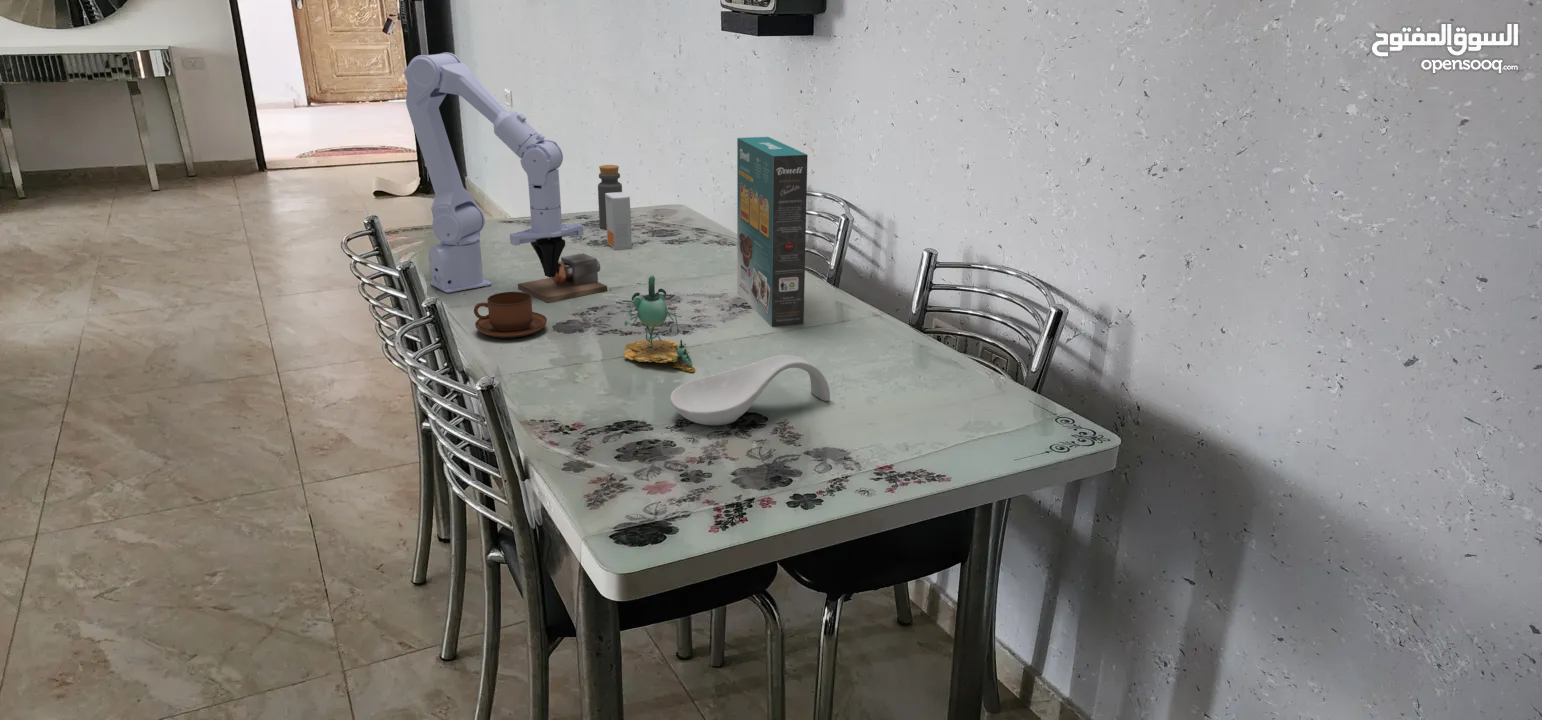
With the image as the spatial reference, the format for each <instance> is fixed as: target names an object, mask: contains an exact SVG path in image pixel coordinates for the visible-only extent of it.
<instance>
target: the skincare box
mask: <svg viewBox="0 0 1542 720" xmlns="http://www.w3.org/2000/svg"><path fill="white" fill-rule="evenodd" d="M630 198H631V197H630V196H629V195H628V194H626V193H624V192H623V191H622V192H615V193H605V202H606V223H607V229H606V238H607V239H606V240H607V245H608V246H610V247H611V248H612V249H613V250H615V251H618V250H619V251H620V250H629V249H632V248H633V247H632V246H633V245H632V244H633V242H632V241H633V240H632V223H631V222H632V221H631V220H632V219H631V199H630Z"/></svg>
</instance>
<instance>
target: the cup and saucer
mask: <svg viewBox="0 0 1542 720" xmlns="http://www.w3.org/2000/svg"><path fill="white" fill-rule="evenodd" d="M532 300H533V299H532V295H530V294H528V293H526V292H524V291H523V292H521V291H506V292H498V293H495V294H491V295H489V296H488V297H487V300H486V302H478V303H477V304H475V305H474V307H473V314H474V317H476V318H478V319H477V320H476V321H475V322H474V323H475V328H476V330H477V331H479V332H480V333H481V334H483V335H486V336H488V337H494V338H503V339H505V338H506V339H511V338H518V337H519V338H520V337H526V336H528V335H529V336H530V335H532V334H535V333H538V332H540V331H541V330H543V328H544V327H545V326H546V325H547V321H548V319H547V317H546V316H545V314H541V313H538V312H534V311H533V305H532V304H533V301H532ZM481 307H485V308H487V310H488V311H487V312H488V314H486V315H481V314H480V313H479V308H481Z"/></svg>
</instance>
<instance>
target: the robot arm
mask: <svg viewBox="0 0 1542 720" xmlns="http://www.w3.org/2000/svg"><path fill="white" fill-rule="evenodd" d="M403 73H404V76H405V80H406V84H407V85H406V86H407V87H406V94H405V95H406V99H405V104H406V108H407V111H408V115H409V117H410V122H411V124H412V126H413V130H414V132H415V135H416V139H417V142H418V145H419V149H420V152H421V154H422V155H421V156H422V157H423V161H424V164H425V167H426V170H427V173H428V176H429V178H430V182H431V185H432V189H433V191H434V194H435V196H434V199H433V202H432V204H431V207H430V210H431V213H432V223H431V224H432V231H433V233H434V235H435V236H436V238H437V239H438V240H439V241H440V242H439V243H438V244H434V245H431V246H430V247H429V251H428V257H429V267H430V275H431V282H430V284H431V285H432V286H433V287H435V288H437V289H438V290H441V291H443V292H445V294H446V293H447V294H448V293H453V292H459V291H460V292H461V291H465V290H470V289H471V290H472V289H476V288H480V287H481V288H482V287H486V286H487V287H488V286H491V285H492V282H491V280H487V279H485V278H484V271H483V260H482V251H481V249H482V248H481V241H480V239H481V233H480V232H481V231H482V230H483V229H484V228H485V227H484V226H485V223H486V222H485V221H486V220H485V215H484V212H483V211H482V209H481V208H480V207H479V206H478V204H477V202H476V201H475V197H474V195H473V194H472V193H470V192H469V191H468V190H467V189H466V188H465V187H464V183H463V181H462V177H461V175H460V171H459V168H458V165H457V162H456V160H455V155H454V152H453V150H452V146H451V143H450V140H449V137H448V134H447V132H446V131H447V130H446V127H445V124H444V121H443V119H442V114H441V111H440V106H441V104H442V103H443V101H444V99H445V98H446V97H447V94H448V95H449V94H451V95H457V96H460V97H461V98H463V100H465V101H466V102H467V103H468V104H470V106H472V107H473V108H474V109H475V110H477V111H478V112H479V113H480V114H482V116H483V117H485V119H487V120H488V121H489V122H490V123H492V125H493V133H494V134H495V136H497V138H498V139H500V140H501V141H502V143H504V144H505V145H506V146H507V148H509V150H511V151H512V153H514V154H515V155H516V156H517V157H518V158H519V159H520V162H519V163H520V165H521V167H522V169H523V171H524V172H525V173H526V175H527V183H528V196H529V209H530V224H531V226H530V227H531V228H529V229H526V230H522V231H518V232H514V233H509V240H510V241H509V242H510V244H511V245H513V246H515V247H516V246H520V245H522V244H523V245H524V244H529V243H530V244H531V247H532V248H533V250H534V252H535V253H536V255H537V257H538V259H539V261H540V264H541V267H542V270H543V273H544V276H545V277H547V278H551V277H555V276H556V270H557V265H558V262H559V261H560V259H561V256H562V253H563V250H564V248H565V247H566V240H565V239H563V238H566V237H567V238H568V237H573V236H584V225H583V224H580V223H571V224H570V223H569V224H563V223H562V222H563V220H562V219H563V217H562V202H561V190H560V189H561V187H560V174H559V168H560V167H561V165H562V164H563V161H564V155H563V152H562V149H561V147H560V146H559V144H557V142H556V141H554V140H553V139H545V135H544V134H542V133H539V132H538V131H536V129H534V127H532V126H531V125H530V123H528V122H527V117H526V116H525V115H524V114H523V113H520V114H519V113H518V112H517V111H507V110H506V109H505V108H504V107H503V105H501V103H500V102H498V101H497V99H496V98H495V97H494V96H493V95H492V94H491V93H490V92H489V91H488V89H487V88H485V86H484V85H483V84H482V83H481V82H480V81H479V80H478V79H477V78H476V77H475V75H473V73H472V70H471V69H470V67H469V66H468V65H467V64H465V63H464V62H462V61H461V59H460V58H459V56H457V55H455V54H454V53H452V52H447V51H446V52H445V51H444V52H441V53H436V54H426V55H425V54H420V55H417V56H415V57H413V58H412V59H411V60H410V61H409V63H408V65H407V67H406V68H405V70H404V71H403Z"/></svg>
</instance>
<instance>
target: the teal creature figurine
mask: <svg viewBox="0 0 1542 720" xmlns="http://www.w3.org/2000/svg"><path fill="white" fill-rule="evenodd" d="M655 281H656V277H655V276H654V275H650V276H649V277H648V294H645V295H644V296H643V298H642V299H641V297H640V294H641V293H640V292H635V293H633V295H632V296H631V301H632V306H633V307H634V308H635V310H636V311H637V314H636V315H635V316H633V317H632V308H630V309H628V313H629V316H630V318H629V320H630V321H633V320H634V319H635V320H634V321H633V323H631V322H628V320H625V322H624V326H628V325H631V326H634V325H635V323H636V322H637V320H639V321H640V323H642V324H643V325H644V326H645V328H646V329H645V340H635V341H632V342H629V343H627V344H625V346H624V349H625V350H624V352H623V356H624V358H626V359H628V360H630V361H637V362H639V363H641V362H643V363H644V362H645V363H647V362H648V363H653V362H654V363H660V364H661V363H665V364H666V363H668V362H672V363H673V369H675V368H676V369H680V370H681V371H683V372H689V373H695V371H696V368H695V367H694V365H693V361H692V358H691V356H690V355H689V353H690V351H688V349H687V348H686V347H687V344H686V343H683V339H680V342H679V343H680V344H679V343H677V342H675V341H671V340H669V339H661V337H660V336H659V335H658V334H657V335H655V336H653V333H654V330H655V328H656V327H659V326H661V325H662V324H664V323H665V322H666V320H667V316H669V318H670V320H672V322H671V326H670V328H669V329H668V330H669V333H670V334H671V333H673V325H674V319H675V322H676V323H675V324H676V327H677V329H676V331H677V332H676V333H680V331H681V330H680V328H679V325H678V324H679V323H678V320H677V315H676V314H675V313H672V312H670V311H668V306H667V303H666V302H665V296H666V295H667V291H666V290H665V289H663V288H659V289H657V291H656V293H655V288H656V287H655V283H656V282H655ZM660 293H661V294H660ZM662 293H663V294H664V295H665V296H664V295H663V294H662ZM672 316H674V318H673V317H672ZM648 334H649V336H648ZM657 337H658V339H656V338H657ZM654 339H656V340H654ZM680 357H681V361H682V362H678V359H679V358H680Z"/></svg>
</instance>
